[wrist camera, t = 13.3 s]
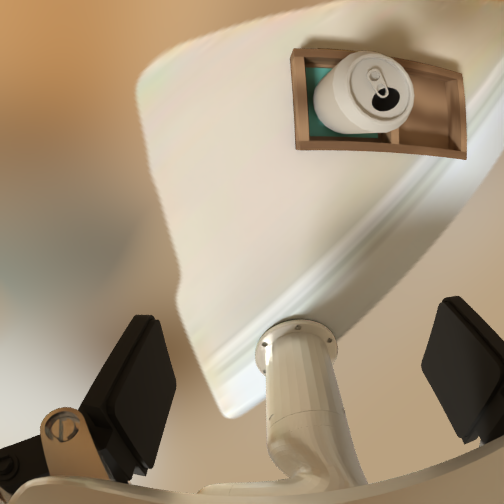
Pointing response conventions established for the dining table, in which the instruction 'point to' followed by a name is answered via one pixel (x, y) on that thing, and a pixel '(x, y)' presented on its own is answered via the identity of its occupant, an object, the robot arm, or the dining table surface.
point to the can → (364, 95)
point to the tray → (397, 141)
